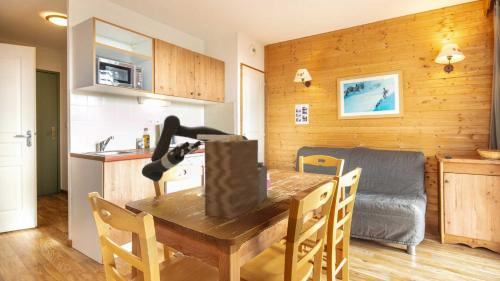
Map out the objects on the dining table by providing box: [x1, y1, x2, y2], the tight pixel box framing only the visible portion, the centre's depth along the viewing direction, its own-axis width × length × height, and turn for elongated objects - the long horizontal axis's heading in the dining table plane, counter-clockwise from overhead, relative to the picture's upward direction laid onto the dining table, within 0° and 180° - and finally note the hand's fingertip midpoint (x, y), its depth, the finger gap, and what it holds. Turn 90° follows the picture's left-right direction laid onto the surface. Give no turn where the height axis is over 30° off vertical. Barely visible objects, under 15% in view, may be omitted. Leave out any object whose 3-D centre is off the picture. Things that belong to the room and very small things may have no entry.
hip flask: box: [258, 161, 268, 205], centre depth 140 cm, size 16×4×20 cm, turn 162°
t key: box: [197, 134, 244, 141], centre depth 121 cm, size 22×8×2 cm, turn 60°
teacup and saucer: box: [196, 187, 205, 198], centre depth 152 cm, size 9×8×4 cm
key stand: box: [204, 137, 259, 220], centre depth 124 cm, size 14×24×33 cm, turn 153°
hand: (194, 142), depth 127 cm, fingers open, 8 cm apart
